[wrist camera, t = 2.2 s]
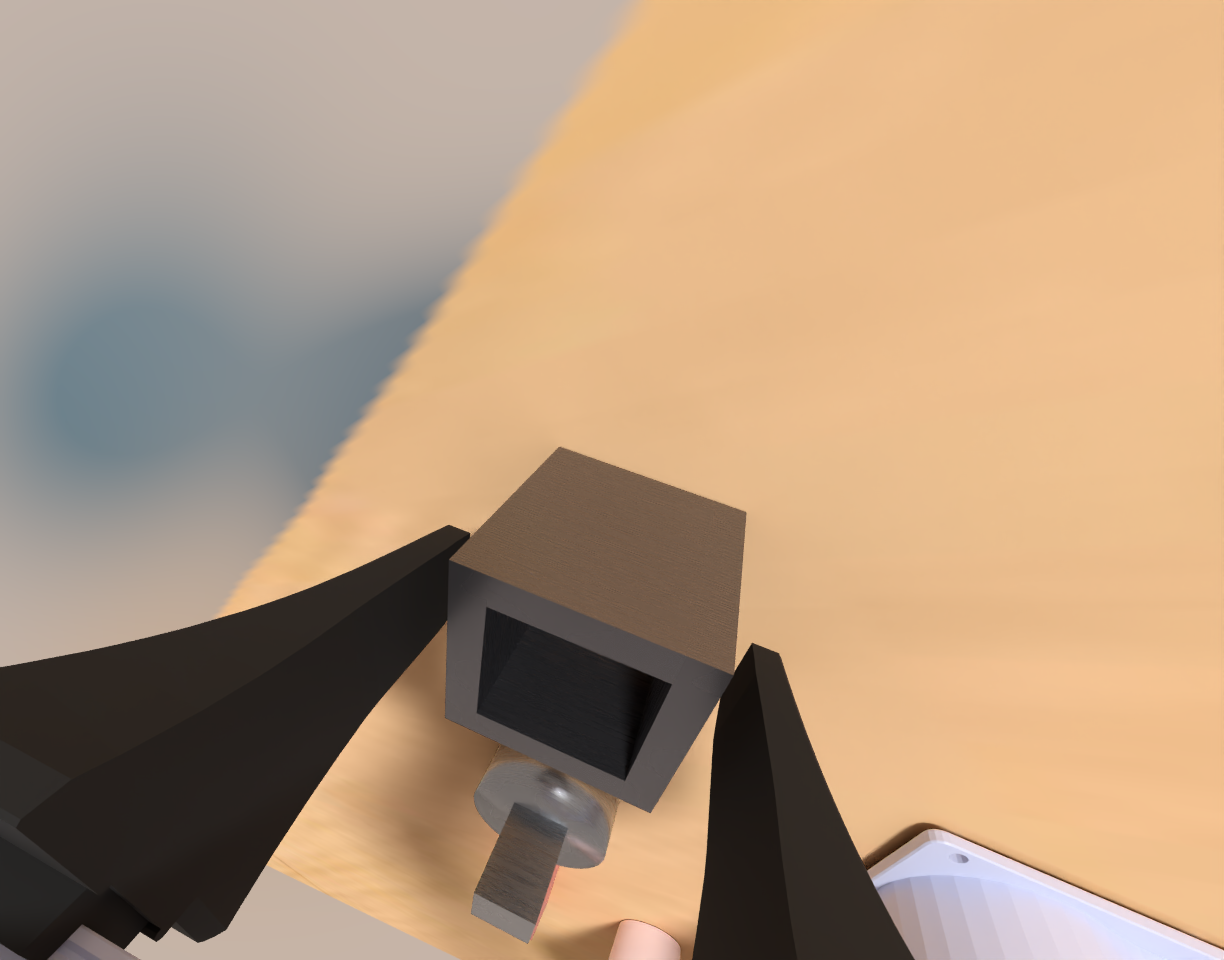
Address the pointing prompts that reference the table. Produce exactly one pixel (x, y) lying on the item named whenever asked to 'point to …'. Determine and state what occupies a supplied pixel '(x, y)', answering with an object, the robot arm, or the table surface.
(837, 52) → the table surface
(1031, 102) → the table surface
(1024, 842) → the table surface
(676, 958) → the smoothie
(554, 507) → the hollow square tube
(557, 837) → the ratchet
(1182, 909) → the table surface
